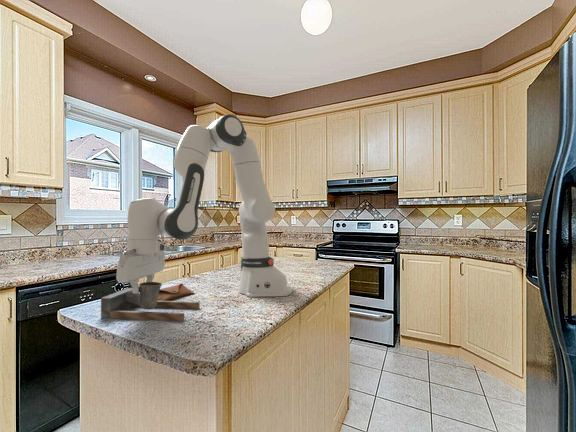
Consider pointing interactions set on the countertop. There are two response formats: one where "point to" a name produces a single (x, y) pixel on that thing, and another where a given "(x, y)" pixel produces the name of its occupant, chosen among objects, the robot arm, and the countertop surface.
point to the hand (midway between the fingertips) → (142, 290)
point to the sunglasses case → (173, 293)
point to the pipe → (145, 295)
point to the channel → (117, 306)
